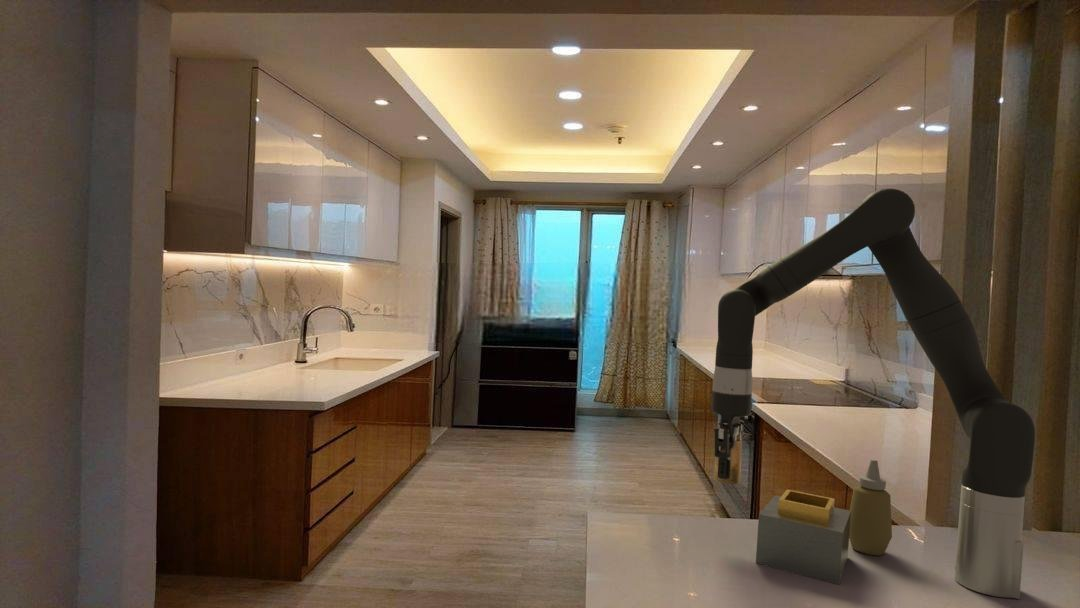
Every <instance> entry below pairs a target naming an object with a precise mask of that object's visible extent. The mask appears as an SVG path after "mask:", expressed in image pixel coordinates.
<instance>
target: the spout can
mask: <svg viewBox="0 0 1080 608" xmlns="http://www.w3.org/2000/svg"><path fill="white" fill-rule="evenodd" d="M730 443H732V442H729V444H730ZM742 451H743V440H742V441H741V440H737V439H736V446H735V449H733V450H732V458H731V465H730V478H729V479H721V478H719V477H718V460H719V459H718V458H717V457H715V456H714V472H713V480H715V482H718V483H722V484H725V485H726V484H727V485H737V484H740V483H741V472H742V471H741V470H742V469H741V468H742V456H743V454H742V453H743V452H742ZM722 452H725V448H724V447H722Z"/></svg>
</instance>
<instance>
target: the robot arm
mask: <svg viewBox="0 0 1080 608" xmlns="http://www.w3.org/2000/svg"><path fill="white" fill-rule="evenodd" d="M915 215H916V207H915V202H914V201H913V199H912V197H911V196H910V195H908V193H906V192H904V191H903V190H900V189H898V188H883V189H882V188H881V189H877V190H875V191H874V192H872V193H870V194H868V195H867V196H866V197H864V199H863V200H862V201H861V202H860V203H859V204H858V205H857V206H856V208H855V209H854V210H852V211H851V212H850V213H849V214H848V215H847V216H846V217H844V218H843V219H842V220H840V221H839V222H837V223H836V224H835V225H834V226H832V227H831V228H829V229H827V231H825V232H823V233H821V234H820V235H818V236H817V237H815V238H813V239H811V240H810V241H808V242H806V243H804V244H803V245H801V246H800V247H798V248H795V249H794V250H792V251H791V252H789V253H788V254H785V255H784V256H783V257H781V258H779V259H777V260H776V261H774V262H773V263H772V264H770V265H768V266H767V267H766V268H764V269H762V270H761V271H760V272H759V273H758V274H757V275H755V276H754V277H753V278H751V279H749V280H747V281H746V282H744V283H743V284H740V285H739V286H737V287H736V288H735V287H734V289H730V290H729V291H727V292H725V293H724V294H723V295H722V296H721V298H720V299H719V301H718V306H717V343H716V347H715V360H714V362H715V363H714V365H715V366H714V372H713V377H712V394H711V412H712V413H714V414H716V415H720V421H719V422H718V424H717V427H715V428H714V431H713V432H714V458H715V457H717V458H718V459H719V460H718V477H719V478H721V479H729V478H730V465H731V458H732V450H733V449H735V446H736V439H737V440H741V441H742V442H743V440H744V439H743V437H744V430H745V429H744V427H745V421H744V420H741V418H744V417H749V416H750V415H751V413H752V399H753V398H752V396H753V394H752V393H753V370H752V369H753V356H754V351H753V350H754V349H753V336H754V329H755V322H756V321H755V319H756V316H758V315H759V314H761V313H762V312H764V311H765V310H766V309H768V308H770V307H771V306H772V305H775V304H776V303H778V302H781V301H783V300H785V299H787V298H789V297H790V296H792V295H793V294H795V293H797V292H798V291H800V290H802V289H804V288H805V287H807V286H808V285H809V284H811V283H812V282H814V281H816V280H817V279H818V278H820V277H821V276H822V275H824V274H825V273H827V272H828V271H830V270H831V269H832V268H834V267H835V266H837V265H839V264H840V263H841V262H843V261H844V260H846V259H847V258H849V257H851V256H852V255H854V254H856V253H858V252H860V251H861V250H864V249H866V248H868V249H869V250H870V252H871V253H872V255H873V257H875V259H876V260H877V262H878V264H879V266H880V267H881V269H882V271H883V272H884V275H885V276H886V279H887V281H888V284H889V286H890V287H891V290H892V293H893V294H894V297H895V299H896V302H897V303H898V306H899V307H900V309H901V311H902V313H903V316H904V318H905V320H906V322H907V323H908V326H909V328H910V329H911V330H912V333H913V334H914V337H915V339H916V340H917V342H918V343H919V345H920V346H921V348H922V350H923V351H924V354H925V355H926V356H927V358H928V360H929V362H930V363H931V364H932V367H933V368H934V369H935V371H936V372H937V373H938V375H939V377H940V378H941V380H942V381H943V384H944V385H945V388H946V389H947V393H948V394H949V397H950V399H951V402H952V404H953V407H954V409H955V412H956V414H957V417H958V419H959V423H960V425H961V428H962V430H963V431H964V433H965V434H966V436H967V437H968V438H969V439H970V442H969V443H970V445H969V446H970V447H969V454H968V462H967V465H966V467H964V469H963V470H962V473H961V485H960V487H961V488H960V498H959V499H960V500H959V515H958V528H957V540H956V553H955V554H956V555H955V566H954V579H955V581H956V582H957V583H958V584H960V585H961V586H963V587H965V588H967V589H970V590H972V591H975V592H977V593H981V594H983V595H987V596H993V597H998V598H1012V599H1017V600H1020V599H1021V598H1020V597H1021V588H1022V587H1021V584H1022V573H1023V561H1024V560H1023V559H1024V547H1025V546H1024V542H1023V540H1022V539H1023V529H1024V528H1023V526H1024V525H1023V524H1024V510H1025V500H1026V499H1025V496H1026V488H1027V485H1028V484H1029V482H1030V479H1031V476H1032V470H1033V469H1032V468H1033V462H1034V454H1035V453H1034V452H1035V443H1036V429H1035V428H1036V427H1035V424H1034V420H1033V419H1032V417H1031V415H1030V414H1029V413H1028V412H1027V411H1026V410H1025V409H1024V408H1022V407H1021V406H1020V405H1017V404H1015V403H1012V402H1009V401H1008V400H1007V399H1006V397H1005V396H1004V394H1003V393H1002V392H1001V390H1000V389H999V387H998V385H997V384H996V383H995V381H994V379H993V377H992V376H991V375H990V373H989V370H988V369H987V366H986V365H985V362H984V360H983V356H982V351H981V347H980V342H979V339H978V336H977V332H976V329H975V326H974V323H973V321H972V319H971V317H970V316H969V314H968V311H967V310H966V308H965V306H964V304H963V302H962V301H961V300H960V297H959V296H958V294H957V292H956V291H955V289H954V288H953V287H952V285H950V283H949V282H948V281H947V279H946V278H944V276H943V275H942V274H941V273H940V272H939V270H937V269H936V268H935V266H934V265H932V264H931V263H930V261H929V260H928V259H927V257H926V256H925V255H924V253H923V252H922V250H921V249H920V246H919V244H918V243H917V241H916V239H915V237H914V234H913V232H912V230H911V225H912V223H913V222H914V220H915ZM729 442H732V443H730V444H729ZM722 447H724V448H725V452H722Z"/></svg>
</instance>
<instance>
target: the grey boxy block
mask: <svg viewBox="0 0 1080 608" xmlns="http://www.w3.org/2000/svg"><path fill="white" fill-rule="evenodd" d="M850 518H851V511H850V509H845V508H839V507H835V498H832V497H829V496H828V497H827V496H822V495H819V494H818V495H816V494H812V493H806V492H802V491H798V490H791V489H786V490H785V491H784V492H783V494H782V495H781V496H780V495H774V496H773V497H772V498H771V499H770V501H769V502H768V503H767V504H766V505H765V506H764V508H763V509H762V510H761V512H759V514H758V523H757V539H756V552H755V553H756V555H755V564H758V565H761V564H762V566H766V567H770V568H773V569H778V570H780V571H781V570H782V571H785V572H788V573H792V572H793V573H794V574H796V573H797V574H796V575H800V576H804V577H808V576H809V578H812V579H815V578H817V579H816V580H819V579H820V581H823V580H824V581H823V582H827V581H828V582H827V583H831V584H835V585H840V583H841V580H842V577H843V574H844V572H845V571H844V570H845V568H846V565H845V564H847V561H848V558H847V557H849V546H850V543H849V542H850V539H849V532H850ZM844 567H845V568H844ZM793 573H792V574H793Z"/></svg>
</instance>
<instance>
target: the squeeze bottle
mask: <svg viewBox="0 0 1080 608" xmlns="http://www.w3.org/2000/svg"><path fill="white" fill-rule="evenodd" d="M867 467H868V468H867V471H866V474H865V475H860V476H859V480H858V481H859V482H858V483H859V485H858V486H855V487H854V488H853V490H852V491H853V492H852V497H851V502H850V507H849V511H851V518H850V532H849V542H850V545H851V548H852V547H853V548H854V549H853V548H852V549H853V550H855V551H857V550H858V551H857V552H859V551H860V553H862V554H866V555H871V556H881V555H884V554H886V553H885V552H886V550H887V548H888V546H889V544H890V542H891V540H892V537H893V529H892V528H893V527H892V506H891V505H892V503H891V494H890V493H889V492H888V491H887V490H885V489H887V488H886V487H887V486H886V485H887V481H886V479H883V478H881V475H880V469H879V463H878V460H876V459H870V461H869V465H868V466H867Z"/></svg>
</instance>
